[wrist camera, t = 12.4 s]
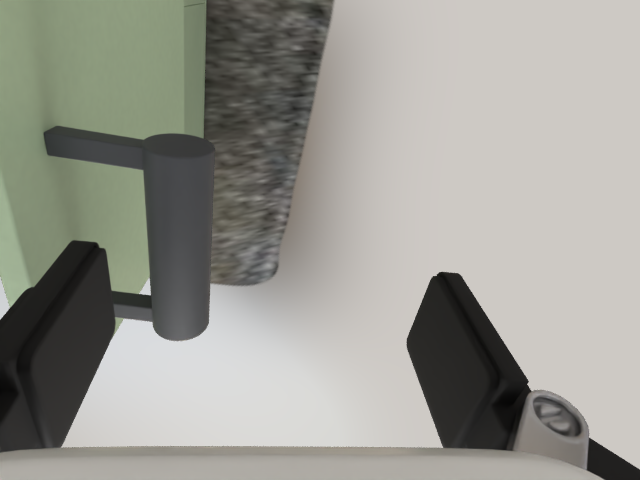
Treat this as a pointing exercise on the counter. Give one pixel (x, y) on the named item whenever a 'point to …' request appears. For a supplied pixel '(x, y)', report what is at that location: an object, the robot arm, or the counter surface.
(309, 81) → the counter surface
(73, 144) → the lid
